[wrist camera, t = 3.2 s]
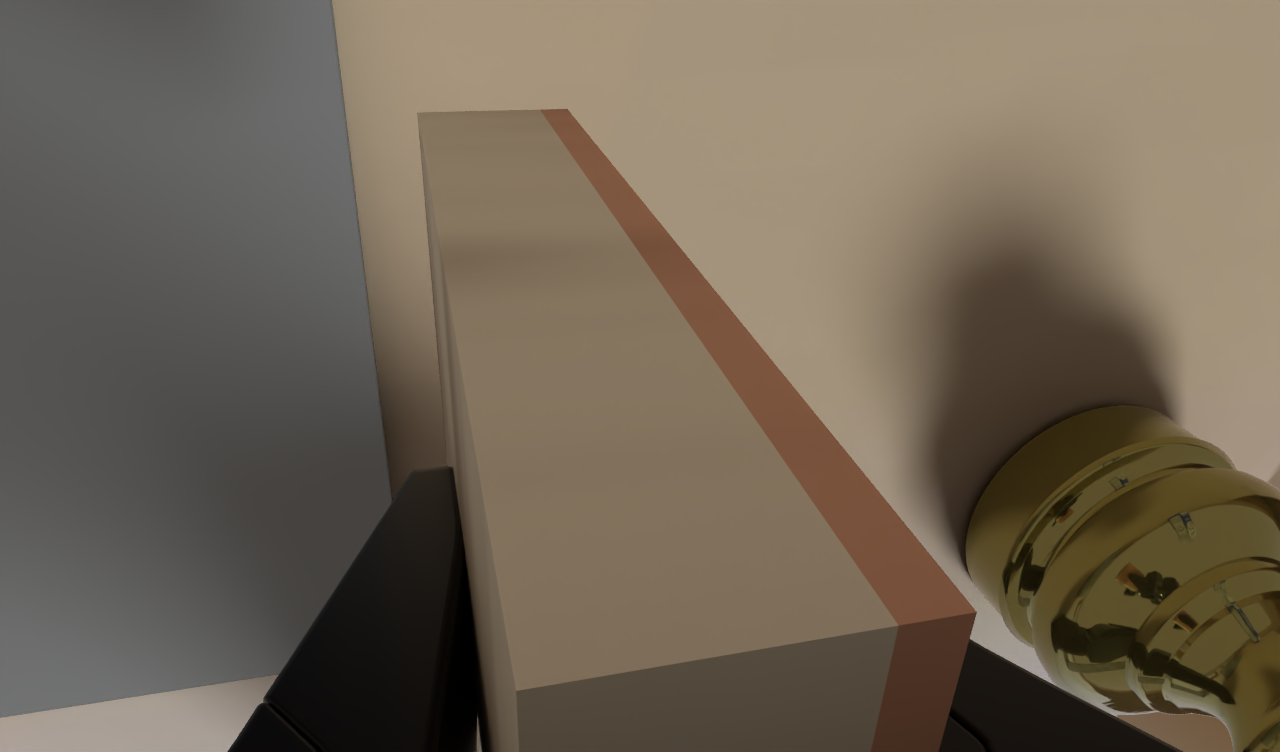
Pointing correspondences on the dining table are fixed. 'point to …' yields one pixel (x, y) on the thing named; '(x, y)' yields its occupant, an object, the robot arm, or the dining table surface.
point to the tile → (653, 485)
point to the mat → (176, 345)
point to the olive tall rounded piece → (1139, 570)
